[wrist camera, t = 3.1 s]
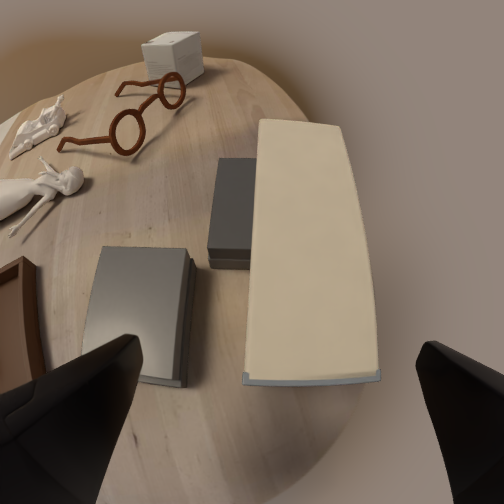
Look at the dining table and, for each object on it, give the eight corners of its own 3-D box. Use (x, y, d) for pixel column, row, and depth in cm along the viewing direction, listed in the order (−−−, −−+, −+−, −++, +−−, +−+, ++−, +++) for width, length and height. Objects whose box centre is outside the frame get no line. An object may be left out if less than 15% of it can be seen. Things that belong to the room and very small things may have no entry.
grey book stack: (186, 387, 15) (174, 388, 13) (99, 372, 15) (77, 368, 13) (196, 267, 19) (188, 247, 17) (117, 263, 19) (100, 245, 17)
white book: (286, 384, 16) (381, 381, 4) (246, 382, 16) (241, 385, 4) (288, 282, 19) (341, 125, 7) (252, 280, 19) (258, 117, 7)
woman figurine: (-13, 161, 20) (90, 125, 23) (1, 181, 24) (101, 154, 27) (-46, 236, 15) (58, 211, 18) (-26, 254, 19) (79, 238, 22)
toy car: (18, 141, 29) (7, 123, 25) (74, 110, 31) (65, 89, 27) (9, 163, 26) (-4, 145, 22) (68, 129, 28) (57, 107, 25)
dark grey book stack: (301, 271, 19) (310, 251, 17) (210, 268, 19) (204, 248, 17) (294, 181, 23) (299, 156, 21) (220, 178, 23) (217, 153, 21)
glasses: (126, 167, 24) (110, 129, 20) (57, 153, 26) (41, 125, 22) (189, 99, 30) (185, 66, 25) (117, 94, 32) (109, 68, 27)
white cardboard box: (205, 72, 34) (201, 31, 27) (179, 90, 31) (172, 44, 25) (174, 69, 35) (168, 31, 28) (148, 86, 32) (139, 44, 26)
